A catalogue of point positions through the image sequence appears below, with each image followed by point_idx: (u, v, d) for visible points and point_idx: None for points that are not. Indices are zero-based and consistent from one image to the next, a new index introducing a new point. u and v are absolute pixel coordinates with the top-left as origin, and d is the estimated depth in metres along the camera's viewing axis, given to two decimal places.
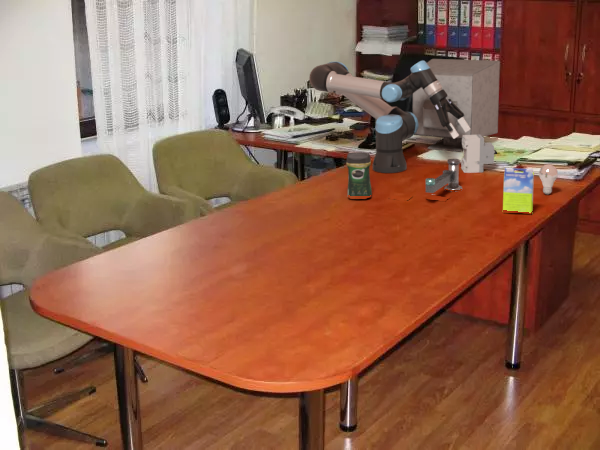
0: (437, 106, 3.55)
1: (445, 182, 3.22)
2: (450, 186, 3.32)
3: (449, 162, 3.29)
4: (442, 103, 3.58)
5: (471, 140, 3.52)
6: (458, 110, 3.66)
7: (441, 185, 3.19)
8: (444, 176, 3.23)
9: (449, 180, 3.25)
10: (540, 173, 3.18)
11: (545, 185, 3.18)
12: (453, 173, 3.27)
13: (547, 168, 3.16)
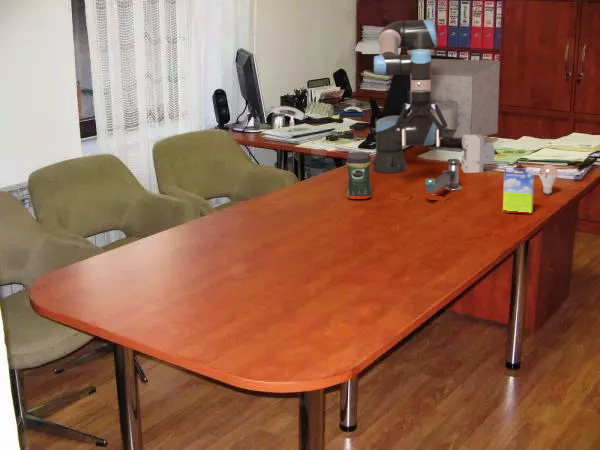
0: None
1: (445, 182, 3.22)
2: (450, 186, 3.32)
3: (449, 162, 3.29)
4: (413, 105, 3.19)
5: (471, 140, 3.52)
6: (440, 120, 3.17)
7: (441, 185, 3.19)
8: (444, 176, 3.23)
9: (449, 180, 3.25)
10: (540, 173, 3.18)
11: (545, 185, 3.18)
12: (453, 173, 3.27)
13: (547, 168, 3.16)
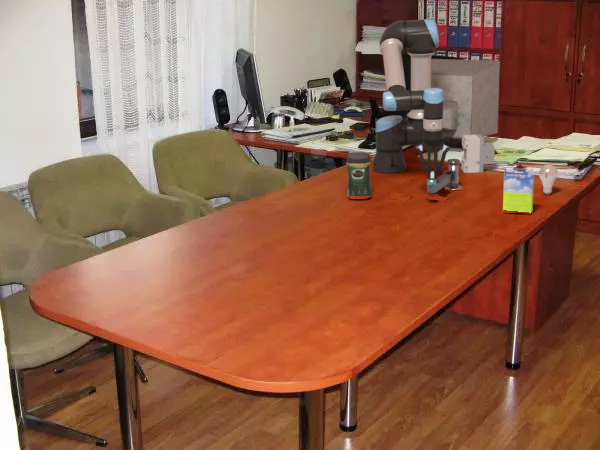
0: (417, 150, 3.19)
1: (446, 182, 3.22)
2: (450, 186, 3.32)
3: (449, 162, 3.29)
4: (425, 143, 3.18)
5: (471, 140, 3.52)
6: (440, 162, 3.19)
7: (442, 185, 3.19)
8: (445, 176, 3.23)
9: (449, 180, 3.25)
10: (540, 173, 3.18)
11: (545, 185, 3.18)
12: (453, 173, 3.27)
13: (547, 168, 3.16)
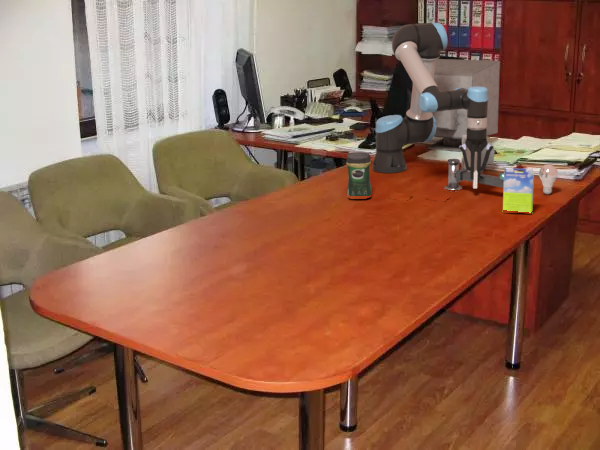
0: (460, 149, 3.18)
1: None
2: (450, 186, 3.32)
3: (449, 162, 3.29)
4: (469, 142, 3.16)
5: None
6: (484, 161, 3.18)
7: None
8: None
9: None
10: (540, 173, 3.18)
11: (545, 185, 3.18)
12: (466, 170, 3.29)
13: (547, 168, 3.16)
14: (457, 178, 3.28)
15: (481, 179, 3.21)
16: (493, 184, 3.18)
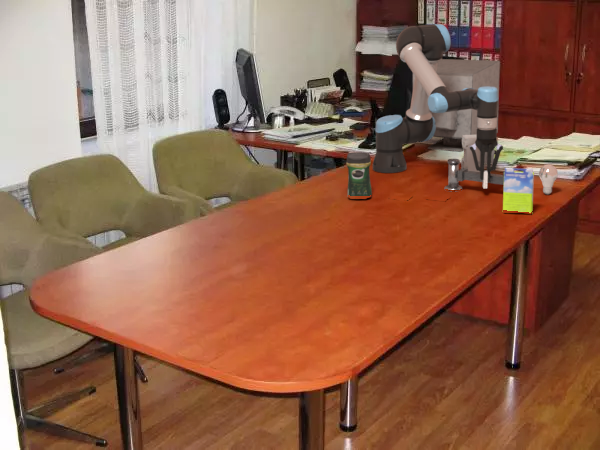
0: (470, 149, 3.17)
1: None
2: (450, 186, 3.32)
3: (449, 162, 3.29)
4: (479, 142, 3.15)
5: (471, 140, 3.52)
6: (494, 161, 3.17)
7: None
8: (478, 172, 3.26)
9: None
10: (540, 173, 3.18)
11: (545, 185, 3.18)
12: (467, 170, 3.30)
13: (547, 168, 3.16)
14: (459, 178, 3.28)
15: None
16: (497, 182, 3.20)
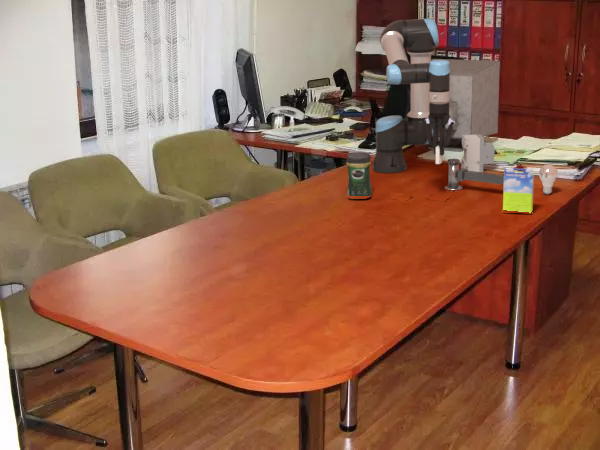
0: None
1: None
2: (450, 186, 3.32)
3: (449, 162, 3.29)
4: (431, 116, 3.12)
5: (471, 140, 3.52)
6: None
7: None
8: (478, 172, 3.26)
9: None
10: (540, 173, 3.18)
11: (545, 185, 3.18)
12: (467, 170, 3.30)
13: (547, 168, 3.16)
14: (459, 178, 3.28)
15: (484, 178, 3.23)
16: (497, 182, 3.20)
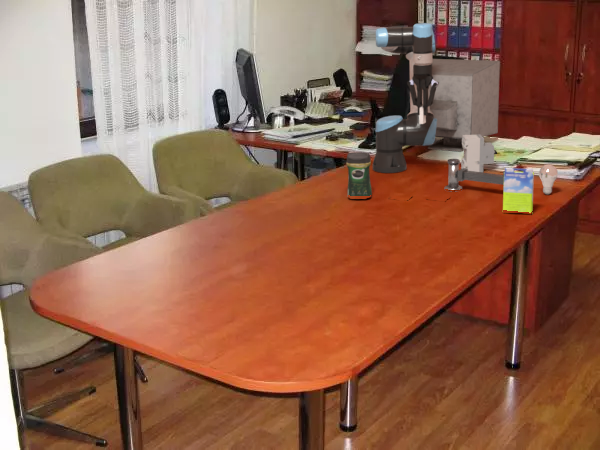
0: None
1: None
2: (450, 186, 3.32)
3: (449, 162, 3.29)
4: (415, 77, 3.26)
5: (471, 140, 3.52)
6: (429, 97, 3.26)
7: None
8: (478, 172, 3.26)
9: None
10: (540, 173, 3.18)
11: (545, 185, 3.18)
12: (467, 170, 3.30)
13: (547, 168, 3.16)
14: (459, 178, 3.28)
15: (484, 178, 3.23)
16: (497, 182, 3.20)
